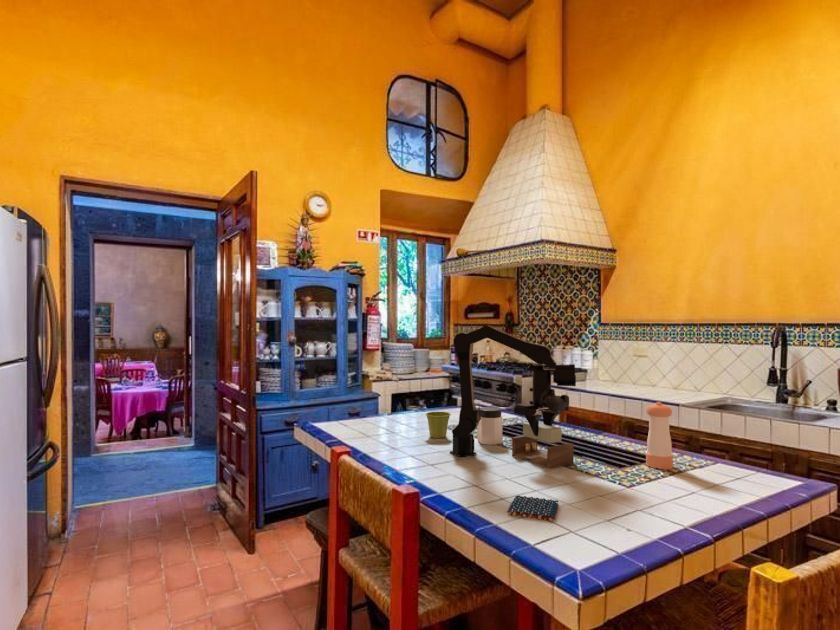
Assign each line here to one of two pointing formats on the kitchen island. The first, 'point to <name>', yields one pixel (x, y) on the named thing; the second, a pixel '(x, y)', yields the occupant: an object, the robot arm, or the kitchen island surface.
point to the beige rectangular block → (543, 433)
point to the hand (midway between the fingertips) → (541, 435)
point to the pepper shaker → (659, 437)
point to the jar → (490, 426)
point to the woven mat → (533, 508)
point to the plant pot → (438, 423)
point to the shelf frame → (542, 452)
